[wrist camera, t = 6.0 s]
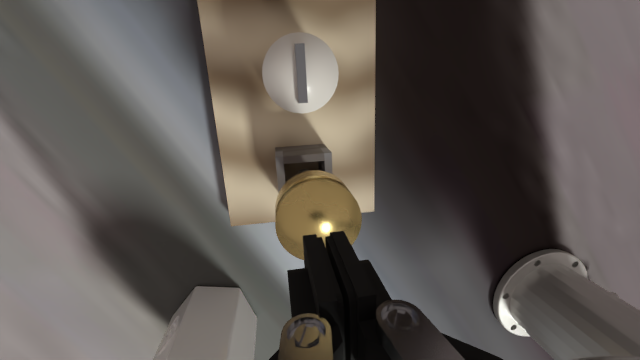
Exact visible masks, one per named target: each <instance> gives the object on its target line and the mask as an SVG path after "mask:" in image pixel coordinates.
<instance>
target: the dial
mask: <svg viewBox="0 0 640 360" xmlns="http://www.w3.org/2000/svg"><path fill="white" fill-rule="evenodd" d="M338 76H339V72H338V64H337V61H336V58H335V56H334V54H333V52H332V50H331V49H330V47H329V46H328V45H327V44H326V43H325V42H324V41H323V40H321V39H320V38H318V37H316V36H314V35H312V34H309V33H304V32H296V33H290V34H287V35H285V36H283V37H281V38H279V39H278V40H277V41H275V42H274V43H273V44H272V45H271V47H270V48H269V50H268V51H267V53H266V55H265V58H264V61H263V66H262V77H263V83H264V86H265V88H266V91H267V93H268V94H269V96H270V97H271V99H272V100H273V101H274V102H275V103H276V104H277V105H278V106H280V107H281V108H283V109H285V110H287V111H290V112H293V113H309V112H313V111H316V110H318V109H319V108H321V107H323V106H324V105H325V104H326V103H327V102H328V101H329V100H330V99H331V97H332V96H333V94H334V92H335V90H336V87H337V84H338Z"/></svg>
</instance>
